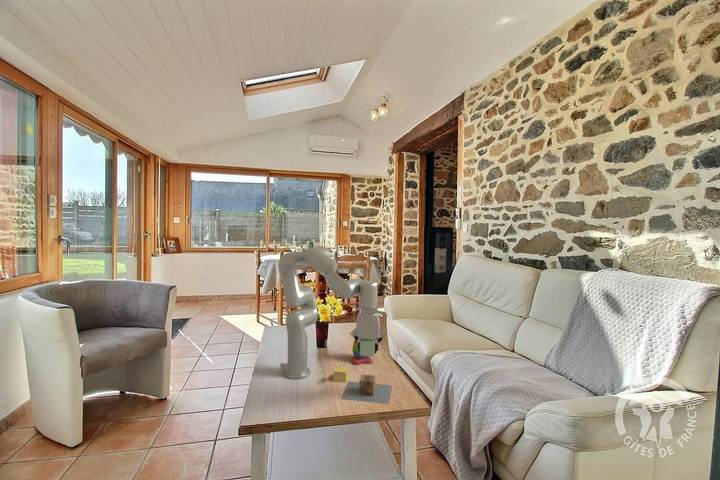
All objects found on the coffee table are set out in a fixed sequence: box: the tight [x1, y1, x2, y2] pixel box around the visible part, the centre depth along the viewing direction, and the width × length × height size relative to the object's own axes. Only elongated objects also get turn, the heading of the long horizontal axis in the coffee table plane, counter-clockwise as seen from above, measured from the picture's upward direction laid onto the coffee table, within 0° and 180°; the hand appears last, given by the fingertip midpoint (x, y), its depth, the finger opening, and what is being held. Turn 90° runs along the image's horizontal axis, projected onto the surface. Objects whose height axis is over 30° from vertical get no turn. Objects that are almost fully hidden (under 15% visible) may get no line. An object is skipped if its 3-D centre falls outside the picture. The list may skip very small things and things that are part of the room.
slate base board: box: [340, 380, 393, 405], centre depth 145 cm, size 20×16×2 cm
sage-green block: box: [360, 338, 376, 357], centre depth 144 cm, size 6×6×6 cm
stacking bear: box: [351, 332, 373, 366], centre depth 182 cm, size 11×10×18 cm
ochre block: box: [332, 365, 350, 383], centre depth 157 cm, size 6×6×6 cm
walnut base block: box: [359, 374, 376, 396], centre depth 145 cm, size 6×6×6 cm
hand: (368, 351), depth 144 cm, fingers closed on sage-green block, 6 cm apart
